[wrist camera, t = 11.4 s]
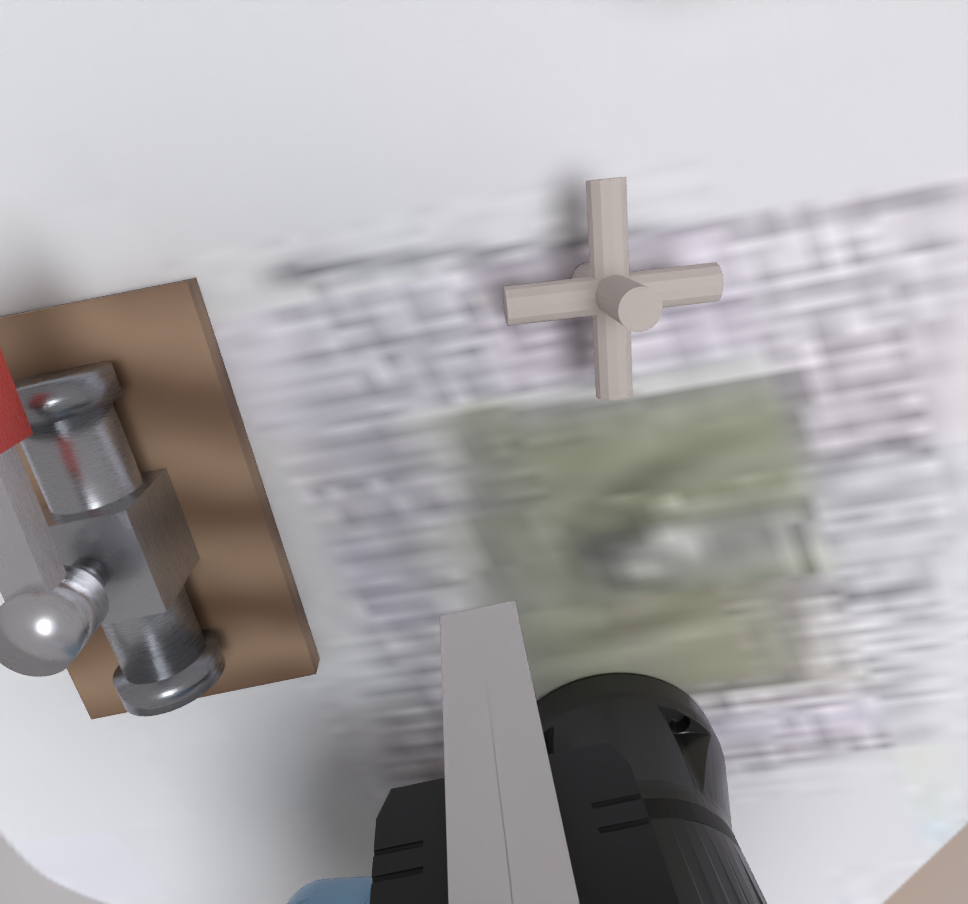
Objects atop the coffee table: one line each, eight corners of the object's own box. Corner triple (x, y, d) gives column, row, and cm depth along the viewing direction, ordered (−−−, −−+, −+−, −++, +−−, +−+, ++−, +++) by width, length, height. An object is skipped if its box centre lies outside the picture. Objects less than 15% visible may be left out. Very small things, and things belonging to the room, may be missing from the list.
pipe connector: (680, 360, 40) (757, 412, 30) (504, 381, 39) (527, 440, 30) (679, 169, 36) (766, 162, 27) (485, 191, 36) (506, 191, 27)
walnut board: (319, 658, 45) (315, 673, 43) (101, 702, 45) (91, 719, 43) (196, 277, 36) (186, 281, 35) (-73, 331, 36) (-93, 336, 35)
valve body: (236, 641, 43) (195, 738, 35) (145, 659, 43) (84, 760, 35) (129, 354, 37) (51, 397, 29) (22, 375, 36) (-84, 424, 29)
